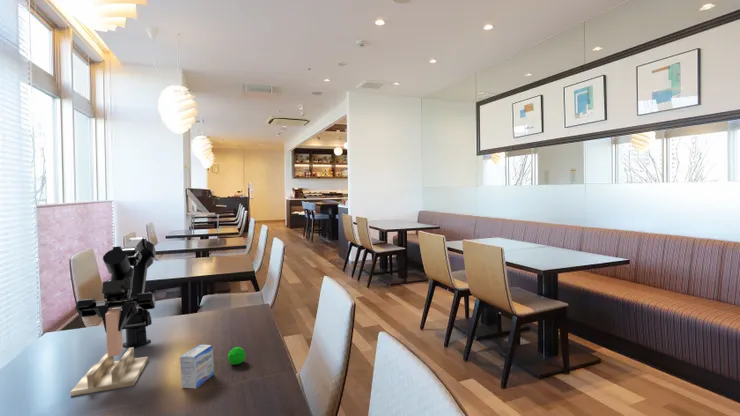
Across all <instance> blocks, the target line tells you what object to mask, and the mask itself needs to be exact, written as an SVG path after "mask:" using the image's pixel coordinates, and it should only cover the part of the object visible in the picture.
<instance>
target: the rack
mask: <svg viewBox="0 0 740 416" xmlns="http://www.w3.org/2000/svg"><path fill="white" fill-rule="evenodd" d="M148 361H149V356H147V355H146V356H143V357H135V348H134V347H132V348H129V347H128V349H127V350H126V351H125V353H124V354H123V355H122V356H121V358H120V359H119V360H114V356H110V357H108V351H107V352H106V353H105V354H104V355H103V356H102V357H101V358H100V359H99V361H98V362H97V363H94V364H93V365H92V366H91V367H90V369H89V370H88V371H87V372H86V373H85V375H84V376H83V377H82V378H81V379H80V380H79V381H78V383H77V384H76V385H75V386H74V387H73V388H72V390H70V396H71V397H73V396H78V395H80V396H81V395H86V394H90V393H95V392H97V393H99V392H103V391H104V392H105V391H108V390H114V389H120V388H121V389H122V388H127V387H133V386H135V384H136V382H137V380H138V378H139V377H140V376H141V373H142V372H143V370H144V368H145V367H146V365H147V363H148Z"/></svg>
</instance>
